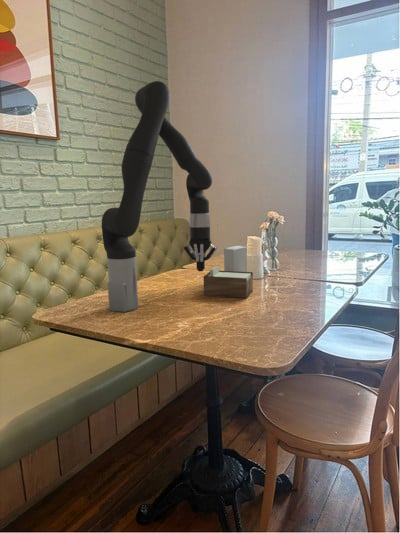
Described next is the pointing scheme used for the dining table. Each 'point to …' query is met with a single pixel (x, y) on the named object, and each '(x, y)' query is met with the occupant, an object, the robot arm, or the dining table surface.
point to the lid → (228, 274)
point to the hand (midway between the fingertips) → (200, 270)
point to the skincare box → (235, 259)
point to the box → (228, 286)
